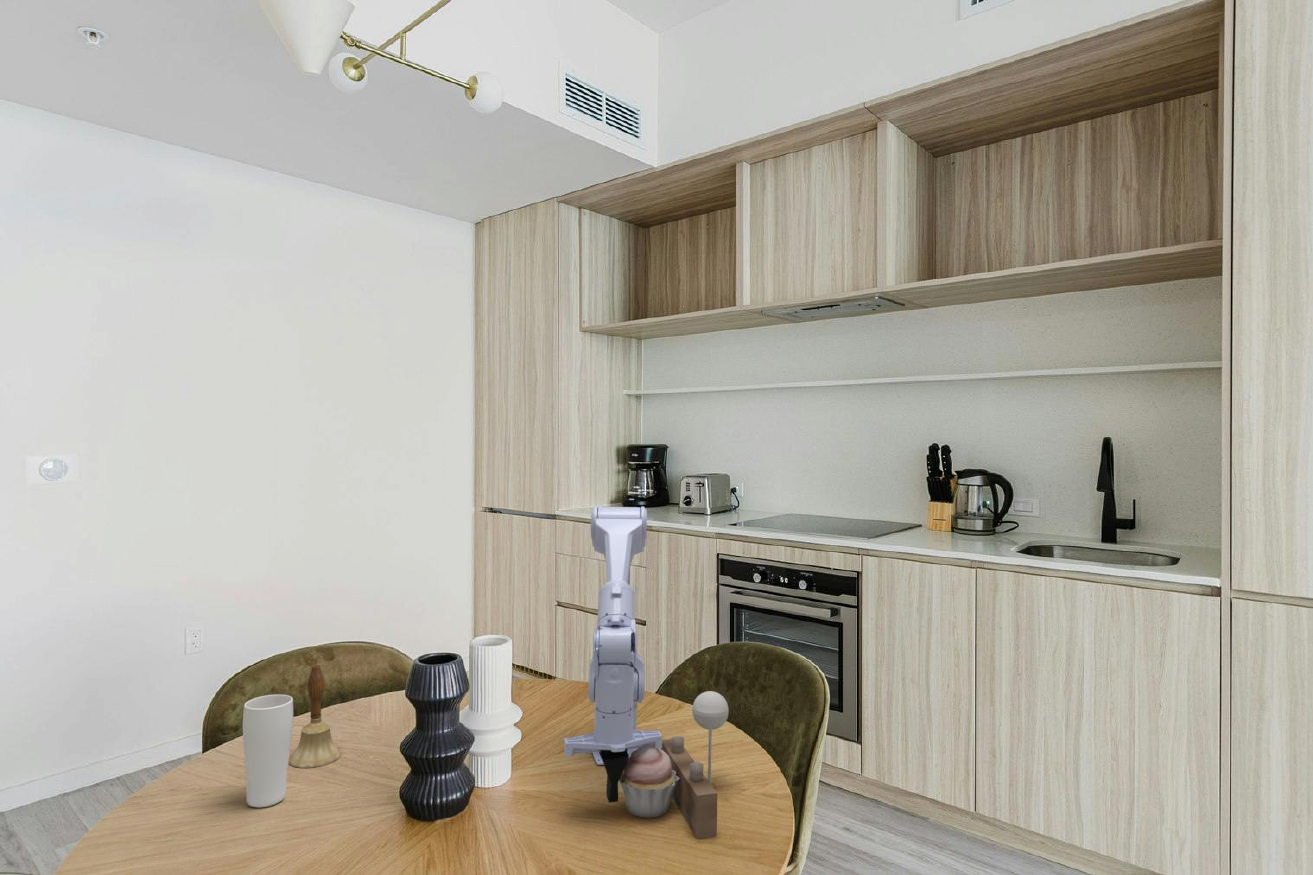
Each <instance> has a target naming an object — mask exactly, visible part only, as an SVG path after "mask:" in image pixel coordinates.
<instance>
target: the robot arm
mask: <svg viewBox="0 0 1313 875" xmlns="http://www.w3.org/2000/svg"><path fill="white" fill-rule="evenodd" d="M647 531H648V510H647V508H645V506H641V507H637V506H631V507H630V506H598V505H595V506H594V507H593V508H592V509H591V513H590V539H591V542H592V544H591V545H592V547H593V548H594V549H593V550H594V552H597V553H599V554H602V555H603V556H604V559H605V569H606V570H605V572H606V575H605V576H606V583H605V584H604V585H603V586H601V588H600V589H599V591H598V604H597V623H596V624H597V625H596V629H594V632H593V638H592V640H593V642H592V657H591V659H590V662H589V672H588V700H589V701H590V702H591V703H592V704H594V722H593V723H594V731H593V732H591V733H585V734H582V735H579V736H572V737H564V739H563V741H564V742H563V745H564V747H563V751H564V755H565V757H572V756H574V754H575V755H577V754H584V753H585V754H589V753H590V754H592V755H593V758H594V762H595V763H596V765H597V766H604V769H605V773H606V776H607V778H606V798H607V801H608V803H609V804H611V803H618V802H619V783H620V782H619V779H620V777H621V774H622V772H623V770H624V768H625V767H626V765H627V763H628V760H629V758H630V756H631V753H632V752H633V751H634V750H636V749H638V748H642V747H643V746H645V745H647V744H648V745H654V747H655V749H660V748H662V740H663V735H662V733H661V732H660V731H659V730H637V719H638V718H637V716H638V715H637V713H638V712H637V709H638V704H640V703H642V702H644V699H645V668H644V667H645V665H644V664H645V663H644V662H645V661H644V659H643V656H642V655H641V654H640V653H638V632H637V631H638V630H637V626H636V624H637V623H636V620H635V619H636V618H635V610H636V607H635V606H636V603H635V600H636V597H635V596H636V593H635V590H634V588H633V587H632V586H631V564H632V562H633V559H634V556H635V555H638V554H640V553H643V552H644V550H645V547H646V544H647V542H646V540H647V538H648V532H647Z"/></svg>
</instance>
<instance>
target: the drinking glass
mask: <svg viewBox="0 0 1313 875" xmlns="http://www.w3.org/2000/svg"><path fill="white" fill-rule="evenodd" d="M242 713H243V714H242V740H243V741H242V742H243V756H244V772H245V783H246V784H245V785H246V786H245V787H246V789H245V790H246V793H245V794H246V796H245V798H246V799H245V801H246V804H247V805H248V806H250V807H252V808H266V807H271V806H273V805H277V804H279V803H280V802H282V801H283V800H284V799H285V798H286V794H287V782H288V781H287V780H288V772H289V771H288V770H289V765H290V764H289V758H290V756H291V755H290V754H291V746H292V738H293V728H294V726H293V725H294V698H293V697H292V696H291V695H288V694H279V693H278V694H267V695H261V696H258V697H254V698H252V699H249V700H247V701H246V702H245V703H244V705H243V712H242Z"/></svg>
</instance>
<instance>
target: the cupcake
mask: <svg viewBox="0 0 1313 875" xmlns="http://www.w3.org/2000/svg"><path fill="white" fill-rule="evenodd" d="M679 779H680V778H679V777H678V776H676V772H675V771H674V770H672V766H671V761H670V758H669V756H668V755H667V754H666V753H665V752H664V751H663V750H661V749H660V748H659V749H655V747H654V745H648V744H647V745H645V746H643V747H642V748H638V749H636V750H634V751H633V752H632V753H631V756H630V758H629V760H628V763H627V765H626V767H625V768H624V770H623V772H622V774H621V777H620V779H619V782H618V783H619V784H620V786H621V788H622V791H623V796H624V797H623V798H624V802H625V807H626V809H627V810H628V812H629V813H630V814H632V815H634V816H636V817H640V818H656V817H657V818H658V817H659V816H662V815H664V814H665V813H667V812H668V809H669V807H670V803H671V799H672V793H673V790H674V788H675V786H676V784H677V782H678V781H679Z"/></svg>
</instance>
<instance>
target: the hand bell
mask: <svg viewBox="0 0 1313 875" xmlns="http://www.w3.org/2000/svg"><path fill="white" fill-rule="evenodd" d="M324 677H325V676H324V674H323V672H322V669H321V665H320V664H314V665H312V666H311V671H310V674H309V676H308V680H307V692H308V696H309V700H310V722H309V723H308V724H307V725H306V724H305V726H303V727H302V729H301V732H300V733H301V734H300V739H299V742H298V745H297V747H296V749H295V751H294V752H292V754H291V755H289V764H288V765H290V766H291V767H294V768H297V769H313V768H319V767H324V766H327V765H330V764H332V763H335V761H337V760H339V759H340V758H341V755H342V751H341V749H340V748H339V747H337V746H336V744H335V743H334V741H333V738H332V735H331V733H332V732H331V727H330V726H331V725H330V724H329V723H327V722H324V721H322V720H323V719H322V706H321V705H322V697H323V695H324V690H325V689H324V688H325V678H324Z"/></svg>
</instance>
